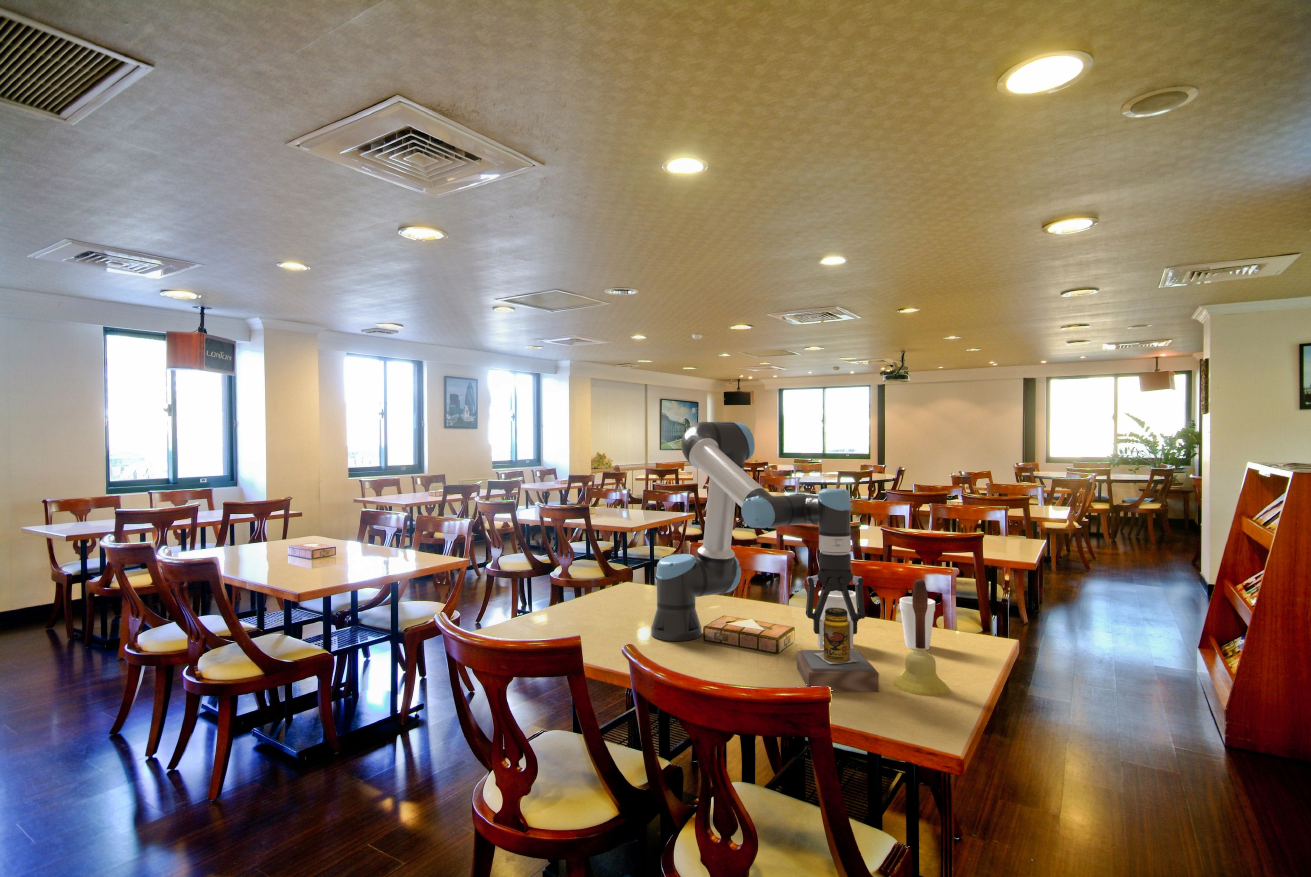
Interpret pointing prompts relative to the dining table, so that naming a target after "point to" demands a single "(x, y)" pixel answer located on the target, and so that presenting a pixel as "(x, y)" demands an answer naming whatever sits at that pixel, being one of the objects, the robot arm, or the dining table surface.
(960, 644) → the dining table surface
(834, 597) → the jar
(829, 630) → the condiment
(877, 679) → the stand
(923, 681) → the handbell
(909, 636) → the foam cup
